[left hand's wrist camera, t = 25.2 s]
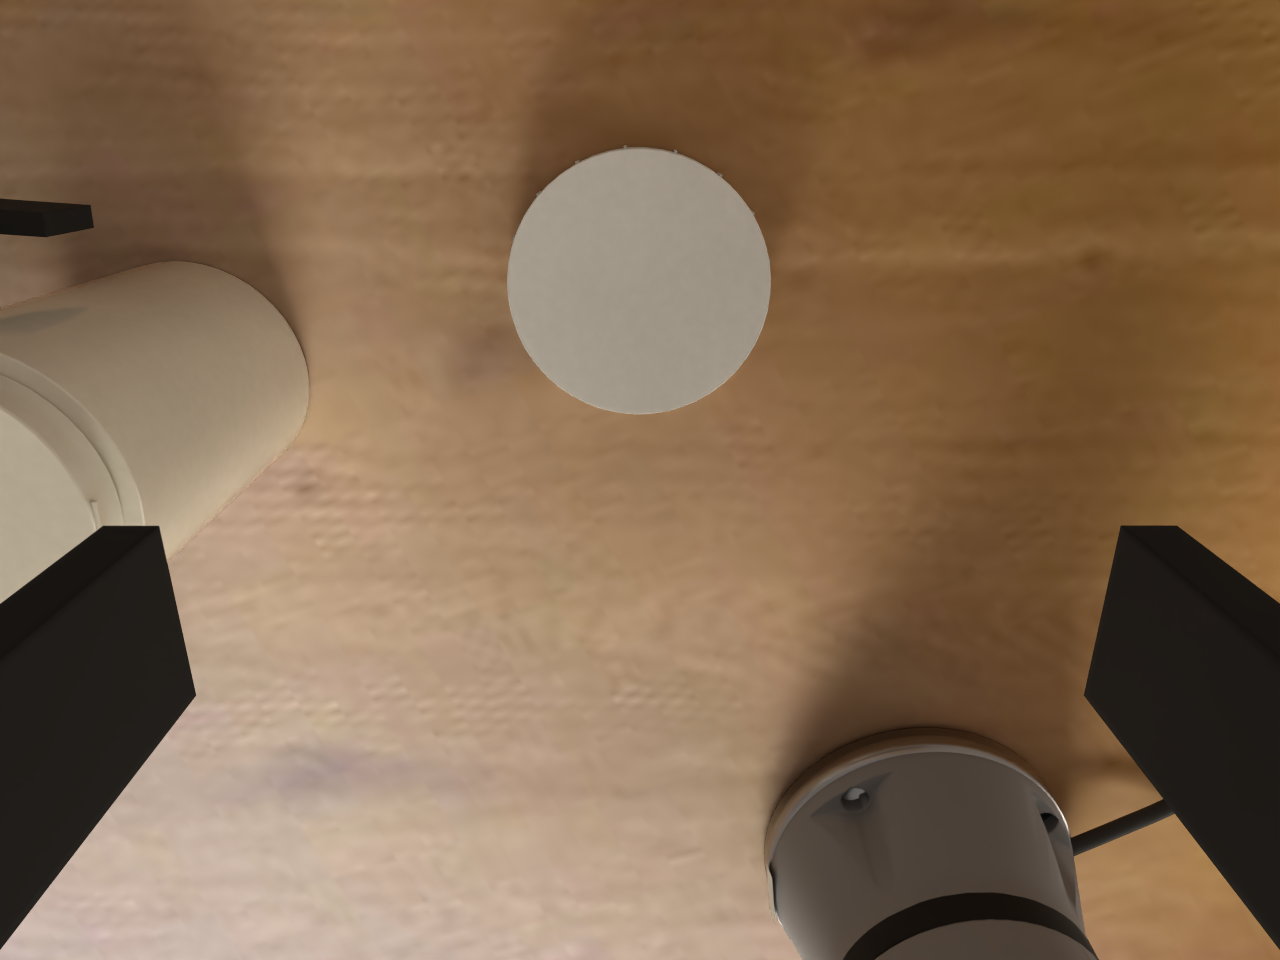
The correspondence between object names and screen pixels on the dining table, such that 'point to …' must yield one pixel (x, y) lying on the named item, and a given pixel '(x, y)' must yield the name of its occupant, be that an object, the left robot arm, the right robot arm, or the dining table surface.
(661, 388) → the lid
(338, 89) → the dining table surface
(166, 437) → the jar
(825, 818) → the left robot arm
